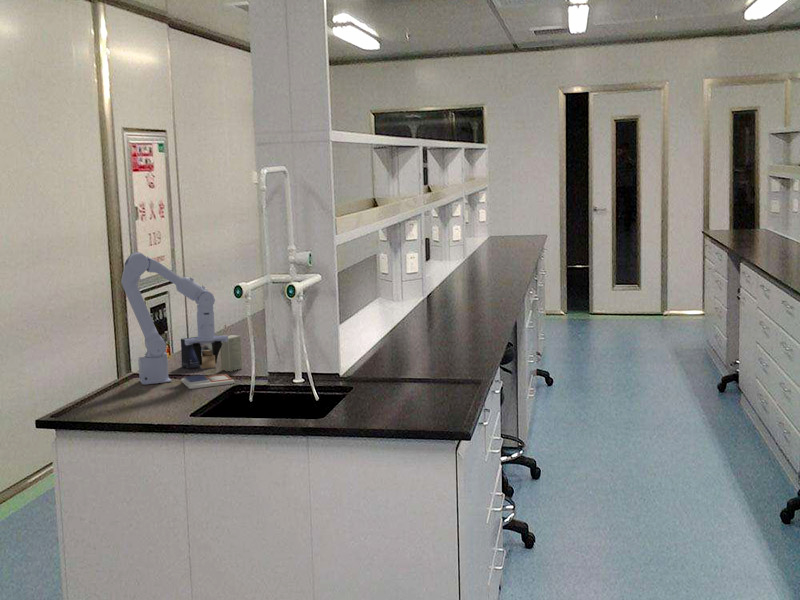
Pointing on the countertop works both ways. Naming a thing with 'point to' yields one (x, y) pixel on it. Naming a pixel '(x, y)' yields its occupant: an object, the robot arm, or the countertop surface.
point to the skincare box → (231, 353)
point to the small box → (192, 354)
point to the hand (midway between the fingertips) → (207, 363)
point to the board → (207, 380)
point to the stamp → (207, 360)
